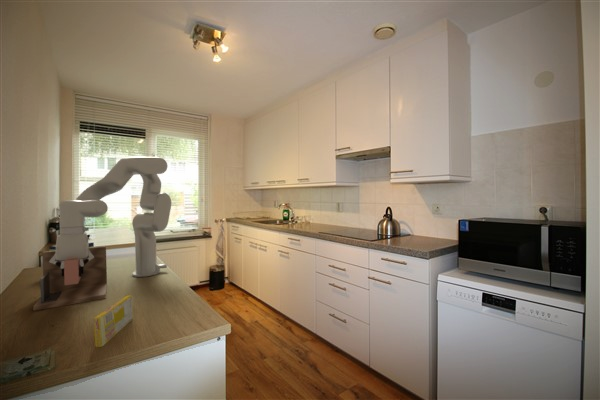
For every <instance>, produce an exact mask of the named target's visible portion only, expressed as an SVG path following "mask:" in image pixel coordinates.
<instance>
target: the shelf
mask: <svg viewBox="0 0 600 400" xmlns="http://www.w3.org/2000/svg"><path fill="white" fill-rule="evenodd" d="M89 251H90V252H91V253H92V254H93V255H94V258H93V259H91V260H90V261H88V262H87V263H86V264H85V265H84V274H82V276H81V278H80V280H79V282H78V284H71V285H65V282H64V276H62V269H61V268H60V267H58V266H57V265H55V264H53V263H50V262H49V261H50V260H51V258H52V257H53V256H54V255H55V252H56V251H49V250H48V251H42V276H43V275H44V274H45V273H46V272H49V276H50V293H54V292H61V291H62V293H61V294H60V296H59V298H58V300H57V301H52V302H46V303H41V296H40V297H39V298H38V300H37V301H36V302H35V304H34V305H33V307H32V308H33V309H32V310H33V311H40V310H41V311H42V310H46V309H51V308H57V307H62V306H68V305H74V304H80V303H85V302H86V303H87V302H91V301H96V300H101V299H106V297H107V288H108V278H107V277H108V275H107V274H108V273H107V268H108V267H107V245H103V246H94V247H90V248H89ZM88 257H89V256H88ZM88 257H87V258H88ZM87 258H84V260H85V259H87ZM56 261H57V260H56ZM59 262H62V261H59Z"/></svg>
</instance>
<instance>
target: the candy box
mask: <svg viewBox="0 0 600 400" xmlns="http://www.w3.org/2000/svg"><path fill="white" fill-rule="evenodd" d="M132 304H133V303H132V295H130V294H129V295H125V296H124V297H122V298H120V299H119V300H117V302H115V303H114V304H112V305H111V306H109V307H107V308H106V309H105V310H104V311H102V312H100V313H99V314H98V315H96V316H95V317H94V318H93V327H94V328H93V329H94V343H95V348H101V347H103V346H104V345H106V344H107V343H108V342H109V341H110V340H111V339H113V338H114V337H115V336H116V335H117V334H118V333H120V331H121V330H123V328H125V327H127V325H129V323H131V322H132V321H133V320H134V319H133V318H134V317H133V305H132Z"/></svg>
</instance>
